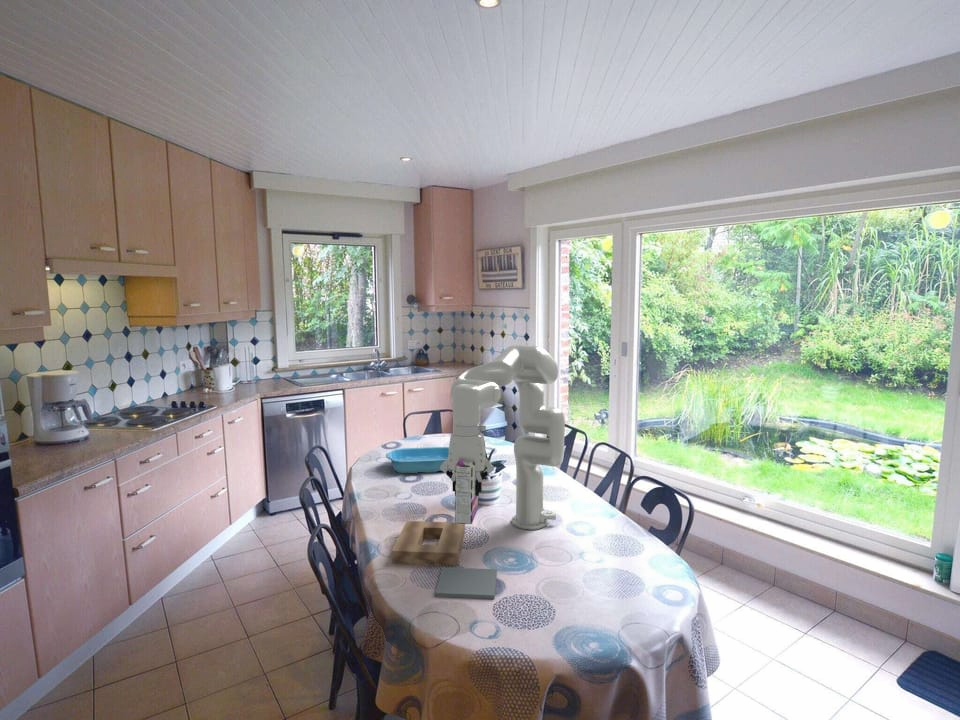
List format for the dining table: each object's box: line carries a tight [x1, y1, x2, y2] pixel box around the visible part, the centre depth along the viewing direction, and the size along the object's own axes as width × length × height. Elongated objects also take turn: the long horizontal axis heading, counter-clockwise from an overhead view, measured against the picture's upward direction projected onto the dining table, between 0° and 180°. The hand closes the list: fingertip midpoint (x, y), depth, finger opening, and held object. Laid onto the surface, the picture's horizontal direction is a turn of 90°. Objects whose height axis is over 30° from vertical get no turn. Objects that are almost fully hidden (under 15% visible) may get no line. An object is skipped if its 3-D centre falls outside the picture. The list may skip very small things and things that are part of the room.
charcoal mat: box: [434, 566, 498, 600], centre depth 154 cm, size 16×14×1 cm
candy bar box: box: [454, 462, 479, 525], centre depth 150 cm, size 11×5×16 cm, turn 171°
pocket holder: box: [391, 520, 466, 567], centre depth 175 cm, size 20×22×4 cm
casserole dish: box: [385, 446, 449, 474], centre depth 257 cm, size 37×22×7 cm, turn 101°
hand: (467, 493), depth 151 cm, fingers closed on candy bar box, 5 cm apart
